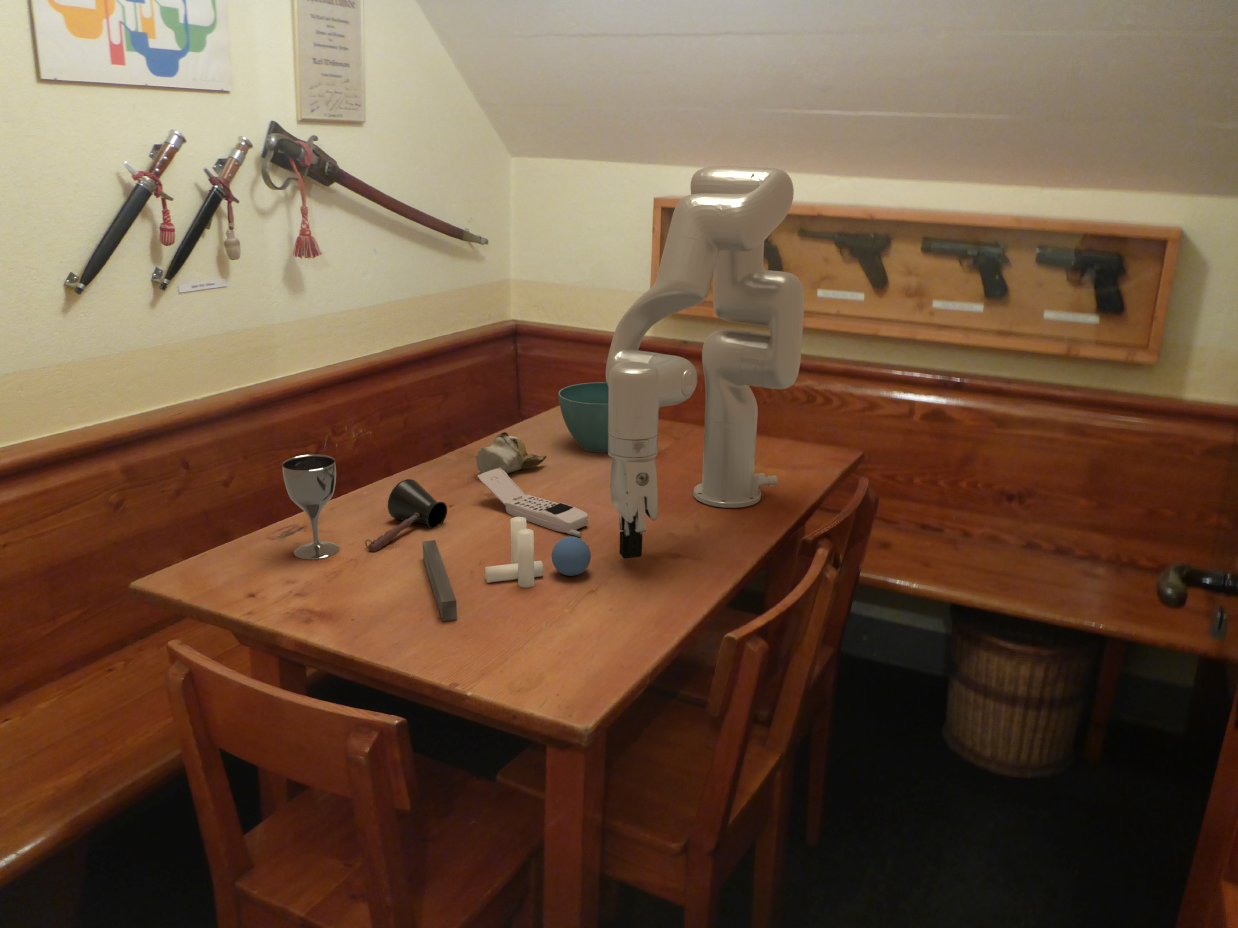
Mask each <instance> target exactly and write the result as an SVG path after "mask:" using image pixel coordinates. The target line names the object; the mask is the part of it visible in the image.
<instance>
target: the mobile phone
mask: <svg viewBox="0 0 1238 928" xmlns="http://www.w3.org/2000/svg"><path fill="white" fill-rule="evenodd" d="M508 474H509V473H506V472H505V471H503V470H502V469H501V468H498V469H494V470H490V471H487V472H485V473H482V474H481V473H480V474H477V475H476V477H477V478H478V479H479V481H481V483H482V484H483V485H484V486H485V487H486V488H487V489H488V490H489V491H490V492H491V493H492V494H493V495H494V496H495V497H496V498H497V499H498V500H499V501H500V502H501V503H502V504H503V505H504V506H505V510H506V513H507V514H508V515H511V516H513V517H524V518H526V522H530V523H532V524H535V525H537V526H541V527H542V528H545V529H546V528H547V529H549V530H552V531H554V532H557V533H564V534H565V533H566V534H567V535H570V536H574V537H577V538H580V537H582V536H583V535H582V532H580V531H578V529H580V528H583V527H585V526H588V524H589V516H588V515H589V514H588V513H587V512H585V511H584V510H582V509H579V508H577V507H574V506H572V505H569V504H567V503H563V502H559V503H558V502H555V501H552V500H548V499H544V498H542V497H538V496H533V495H531V494H528V493H527V494H526V493H525V492H524V490H522V489H521V487H519V486H518V484H516V483H515V481H514V480H513V479H512V478H511V477H510V476H509V475H508Z"/></svg>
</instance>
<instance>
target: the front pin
mask: <svg viewBox="0 0 1238 928" xmlns="http://www.w3.org/2000/svg"><path fill="white" fill-rule="evenodd" d="M484 575H485V581H486V583H488V584H490V583H496V582H503V581H504V582H506V581H515V580H518V563H515V564H511V563H507V564H499V565H490V566H485V567H484ZM539 577H544V565H543V561H542V560H534V578H539Z"/></svg>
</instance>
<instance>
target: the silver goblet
mask: <svg viewBox="0 0 1238 928" xmlns="http://www.w3.org/2000/svg"><path fill="white" fill-rule="evenodd" d="M281 465H282V475H283V481H284V485H285V489H286V492H287V494H288V497H289V498H290V500H291V501H292V502H293V503H294V504H295V505H296V506H298V507H299V508H300V510H303V512H304V513H305V514H306V515H307V517H308V519H309V521H310V525H311V530H312V539H313V541H312V542H307V543H304V544H302V545H299V546H297V547H296V548H295V549H294V551H293V555H294V557H297V558H299V559H302V560H309V561H310V560H320V559H321V560H322V559H327V558H330V557H332V556H334V555H337V554H338V552H339V551H340V550H341V549H340V545H338V544H337V543H335V542H331V541H325V540H324V541H319V540H320V539H319V533H318V532H319V530H318V529H319V517H320V514H321V512H322V511H323V509H324V508H325V506H326V505H327V504H328V503H329V502H330V500H331V499H332V497H333V496H334V493H335V489H336V488H335V487H336V484H337V483H336V481H337V479H336V478H337V468H336V467H337V466H336V459H335V458H334V456H333V457H332V456H330V455H326V454H304V455H298V456H294V457H291V458H288V459H285V461H283V462H282V464H281Z"/></svg>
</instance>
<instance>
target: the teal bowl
mask: <svg viewBox="0 0 1238 928" xmlns="http://www.w3.org/2000/svg"><path fill="white" fill-rule="evenodd" d="M558 401H559V406H560V412H561V415H562V417H563V420H564V423H565V425H566V428H567V429H568V432H569V433H570V435H571V436H572V437H573V439H574V440H575V442H576V443H577V444H578V445H579V447H581V448H582V449H583V450H584V451H588V452H591V453H601V454H602V453H603V454H604V453H608V401H609V387H608V385H607V381H606V382H605V381H604V382H601V381H600V382H586V383H579V384H578V383H577V384H572V385H568V386H566V387H563V388H561V389H560V390H559V391H558Z"/></svg>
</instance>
